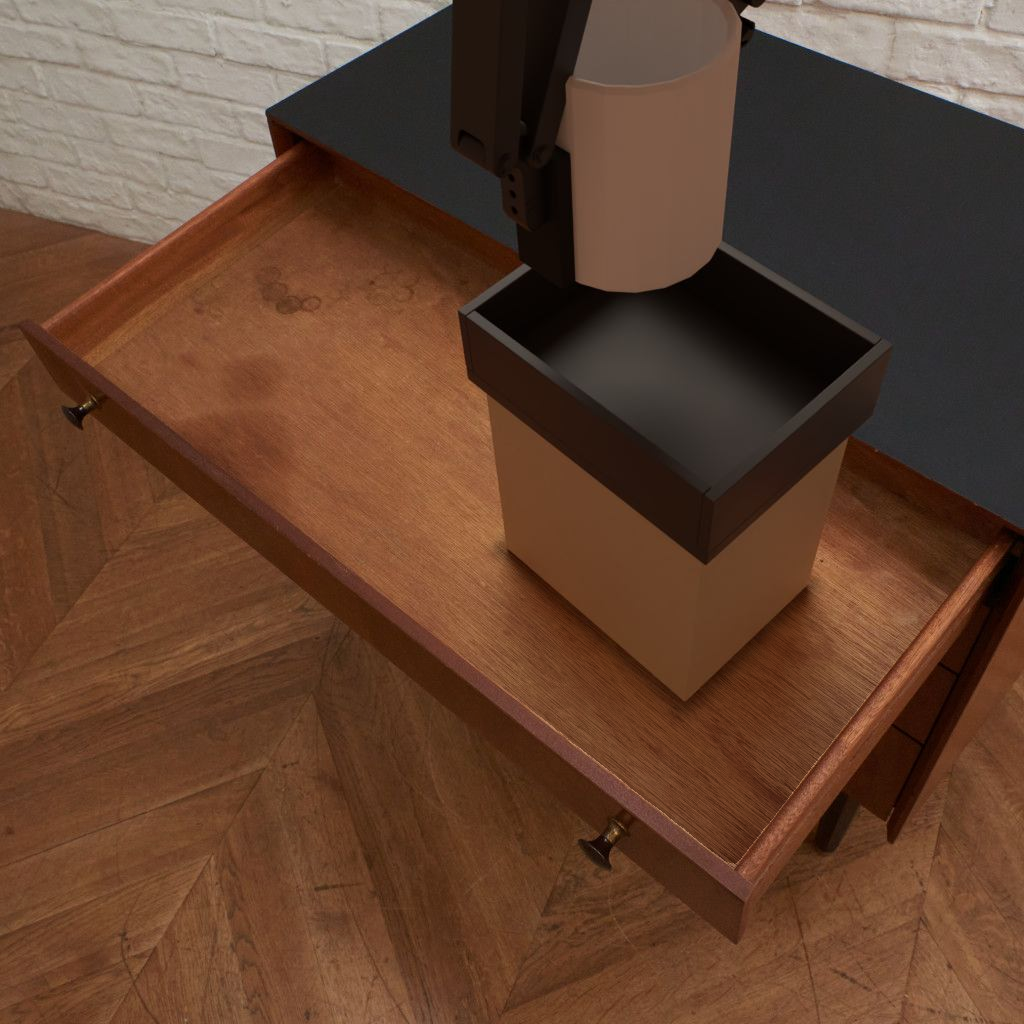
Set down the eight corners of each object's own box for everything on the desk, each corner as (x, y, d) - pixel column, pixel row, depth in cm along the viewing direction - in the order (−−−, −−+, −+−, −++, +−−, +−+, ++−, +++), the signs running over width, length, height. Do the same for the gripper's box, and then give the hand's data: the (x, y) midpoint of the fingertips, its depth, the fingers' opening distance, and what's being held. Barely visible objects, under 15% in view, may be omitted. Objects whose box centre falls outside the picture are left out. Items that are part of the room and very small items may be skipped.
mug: (561, 117, 56) (551, -85, 48) (759, 222, 51) (786, 14, 43) (441, 201, 53) (410, 0, 45) (639, 322, 48) (643, 119, 40)
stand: (808, 584, 69) (855, 415, 56) (684, 702, 65) (704, 550, 52) (627, 448, 76) (631, 268, 63) (506, 547, 72) (483, 379, 59)
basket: (873, 415, 56) (894, 344, 52) (705, 566, 52) (714, 503, 48) (631, 258, 63) (633, 185, 59) (467, 379, 59) (456, 310, 55)
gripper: (755, -529, 38) (710, 78, 56) (243, -317, 31) (384, 302, 49) (950, -494, 35) (834, 141, 53) (425, -244, 27) (503, 392, 46)
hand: (618, 218), depth 51 cm, fingers closed on mug, 8 cm apart
